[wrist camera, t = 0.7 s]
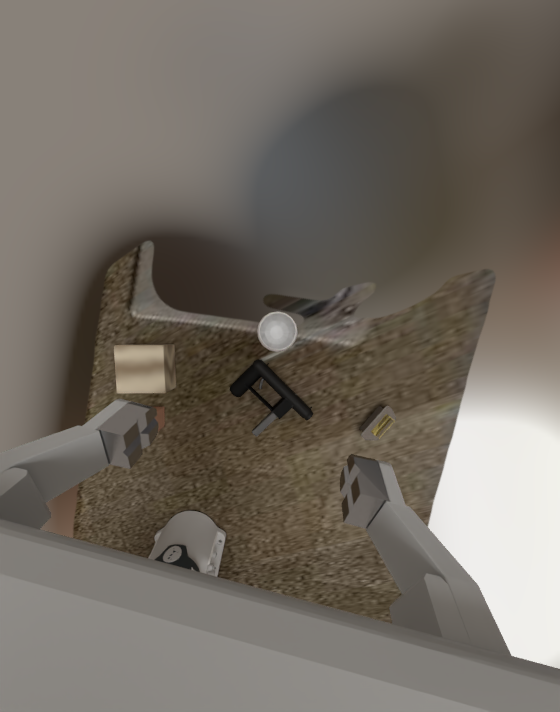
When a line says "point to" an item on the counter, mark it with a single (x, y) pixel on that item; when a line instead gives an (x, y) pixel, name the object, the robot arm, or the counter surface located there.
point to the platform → (377, 423)
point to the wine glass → (277, 331)
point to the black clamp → (278, 385)
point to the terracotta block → (160, 417)
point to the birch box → (145, 368)
